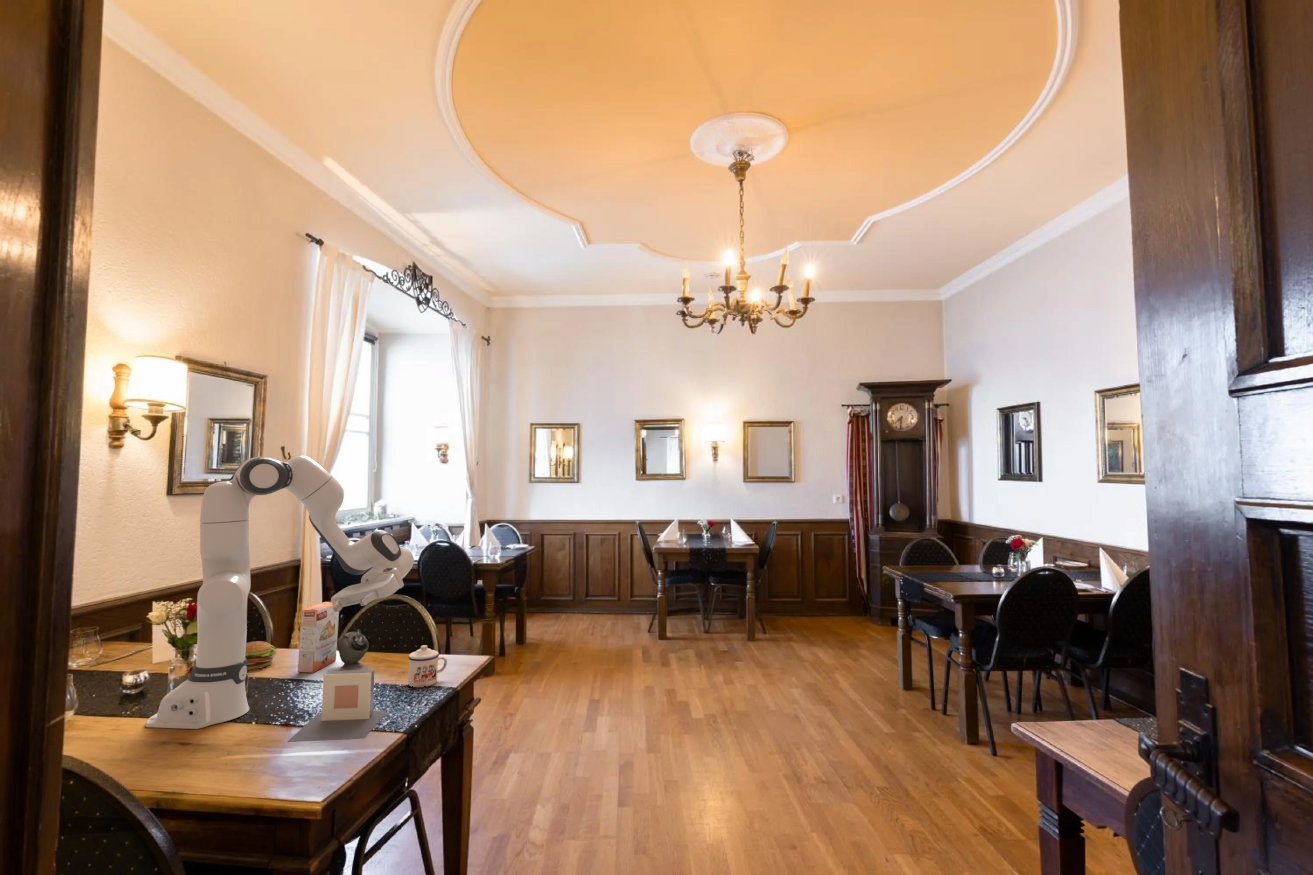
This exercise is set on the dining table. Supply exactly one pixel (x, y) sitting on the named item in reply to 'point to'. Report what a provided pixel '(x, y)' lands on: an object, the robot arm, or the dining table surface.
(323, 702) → the glazed tile
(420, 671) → the teacup with lid
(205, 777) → the dining table surface
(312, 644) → the cracker box
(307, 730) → the felt mat
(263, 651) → the food
